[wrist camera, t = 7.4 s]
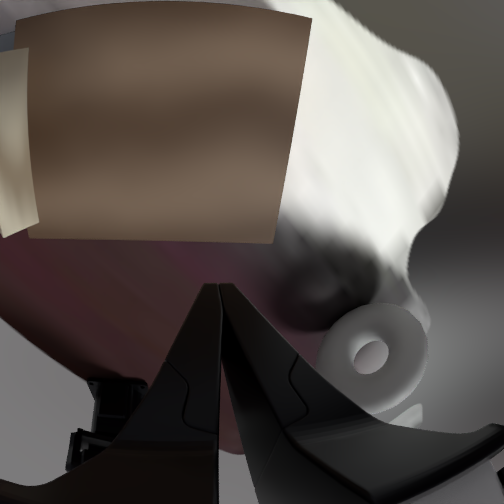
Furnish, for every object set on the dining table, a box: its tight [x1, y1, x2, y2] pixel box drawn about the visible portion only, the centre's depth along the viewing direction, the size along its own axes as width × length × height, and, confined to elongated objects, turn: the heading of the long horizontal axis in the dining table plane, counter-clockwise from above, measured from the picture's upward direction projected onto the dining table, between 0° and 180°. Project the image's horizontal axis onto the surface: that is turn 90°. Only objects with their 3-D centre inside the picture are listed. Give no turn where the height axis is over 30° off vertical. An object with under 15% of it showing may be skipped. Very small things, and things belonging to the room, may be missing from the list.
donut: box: [316, 303, 428, 414], centre depth 24 cm, size 10×4×10 cm, turn 126°
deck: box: [13, 1, 312, 244], centre depth 15 cm, size 12×14×4 cm
